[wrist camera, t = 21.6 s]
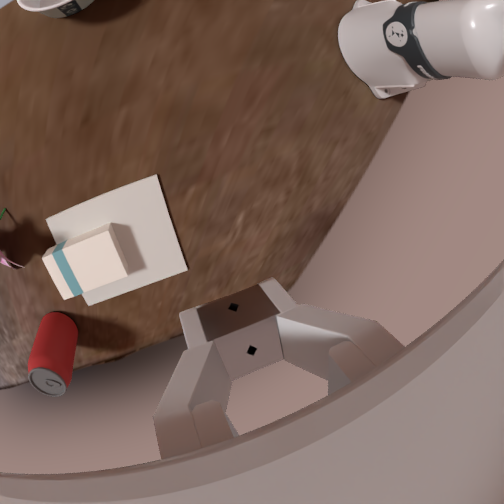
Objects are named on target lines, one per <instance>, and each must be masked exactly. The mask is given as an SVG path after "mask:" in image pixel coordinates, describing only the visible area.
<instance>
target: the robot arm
mask: <svg viewBox="0 0 504 504" xmlns="http://www.w3.org/2000/svg"><path fill="white" fill-rule="evenodd" d="M338 40H339V45H340V49H341V52H342V55H343V57H344V59H345V61H346V63H347V64H348V66H349V67H350V69H351V70H352V71H353V72H354V73H355V74H356V75H357V76H358V77H359V78H360V79H361V80H362V81H364V82H365V83H366V84H367V85H368V86H369V87H370V89H371V90H372V92H373V93H374V95H375V96H376V97H377V98H378V99H383V98H387V97H391V96H394V95H397V94H400V93H404V92H407V91H411V90H414V89H418V88H421V87H424V86H425V85H426V81H430V80H433V79H436V80H442V79H448V78H451V77H465V78H476V79H485V80H495V79H499V78H501V77H503V76H504V0H446V1H438V2H431V3H427V2H422V1H420V2H409V3H407V4H402V3H400V2H397V1H396V0H386V1H381V2H376V3H370V2H368V1H365V0H357V1H356V2H355V4H354V7H353V9H352V10H351V11H350V12H349V13H347V14H346V15H345V16H344V17H343V18H342V20H341V22H340V24H339V29H338ZM196 309H197V310H196ZM179 316H180V320H181V324H182V328H183V331H184V335H185V339H186V342H187V345H188V350H186V351H184V352H183V354H182V356H181V358H180V360H179V362H178V365H177V367H176V369H175V371H174V373H173V375H172V377H171V379H170V381H169V384H168V386H167V388H166V390H165V392H164V394H163V396H162V399H161V401H160V403H159V405H158V407H157V410H156V411H155V414H154V416H153V420H154V426H155V431H156V436H157V441H158V446H159V451H160V455H161V460H157V461H152V462H147V463H143V464H137V465H132V466H126V467H120V468H114V469H107V470H99V471H91V472H80V473H65V474H14V473H2V472H0V504H504V260H503V261H502V262H501V263H500V264H499V265H498V267H496V269H495V270H494V271H493V272H492V273H491V274H490V275H489V276H488V277H487V278H486V279H485V280H484V281H483V282H482V283H481V284H480V285H479V286H478V287H477V288H476V289H475V290H474V291H473V292H471V294H469V295H468V296H467V297H466V298H465V299H464V300H463V301H462V302H461V303H460V304H458V305H457V306H456V307H455V308H454V309H453V310H451V311H450V312H449V313H448V314H447V315H446V316H445V317H443V318H442V319H441V320H440V321H438V322H437V323H436V324H435V325H433V326H432V327H431V328H430V329H428V330H427V331H426V332H425V333H423V334H422V335H421V336H419V337H418V338H417V339H415V340H414V341H413V342H411V343H410V344H409V345H407V346H406V347H405V346H403V345H402V344H401V343H400V342H399V341H398V340H397V339H396V338H395V337H394V336H393V335H392V334H390V333H389V332H388V331H387V330H386V329H385V328H384V327H383V326H382V325H380V324H379V323H378V322H377V321H374V320H370V319H365V318H361V317H356V316H352V315H348V314H344V313H340V312H335V311H331V310H327V309H323V308H319V307H315V306H311V305H307V304H301V305H298V304H297V303H296V302H295V301H294V300H293V299H292V297H291V296H290V295H289V294H288V293H287V292H286V291H285V289H284V288H283V287H282V286H281V285H280V284H279V283H278V282H277V280H276V279H275V278H270V279H267V280H265V281H263V282H260V283H258V284H257V285H254V286H252V287H249V288H247V289H244V290H242V291H239V292H237V293H234V294H231V295H229V296H225V297H222V298H220V299H217V300H214V301H211V302H208V303H205V304H202V305H200V306H197V307H196V308H195V307H194V308H191V309H188V310H186V311H183V312H180V314H179ZM283 359H284V360H285V361H287V362H289V363H291V364H293V365H295V366H298V367H300V368H302V369H304V370H306V371H308V372H310V373H312V374H315V375H317V376H319V377H321V378H323V379H326V380H328V396H326V397H324V398H322V399H320V400H318V401H317V402H314V403H313V404H310V405H308V406H307V407H304V408H302V409H300V410H298V411H297V412H294V413H292V414H290V415H288V416H285V417H283V418H281V419H279V420H277V421H274V422H272V423H270V424H268V425H265V426H263V427H260V428H258V429H255V430H253V431H250V432H248V433H245V434H243V435H240V436H239V434H238V432H237V431H236V429H235V428H234V426H233V424H232V423H231V421H230V419H229V418H228V416H227V415H226V409H227V404H228V399H229V395H230V390H231V385H232V381H233V380H235V379H238V378H240V377H243V376H245V375H247V374H249V373H251V372H254V371H256V370H258V369H261V368H264V367H266V366H268V365H271V364H274V363H276V362H278V361H281V360H283Z"/></svg>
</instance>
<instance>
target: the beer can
mask: <svg viewBox="0 0 504 504" xmlns="http://www.w3.org/2000/svg"><path fill="white" fill-rule="evenodd" d="M77 338H78V329H77V326H76V325H75V323H74V321H73V320H72V319H70V318H69V317H68V316H66V315H65V314H62V313H59V312H51V313H48V314H46V315H45V316H44V317H43V319H42V321H41V323H40V326H39V329H38V332H37V335H36V338H35V341H34V344H33V347H32V351H31V354H30V357H29V361H28V372H29V375H28V378H29V381H30V383H31V385H32V386H33V387H34V388H35V389H36V390H38V391H39V392H41V393H43V394H45V395H48V396H53V397H57V396H62V395H63V394H65V392H66V390H67V387H68V385H69V384H70V382H71V379H72V371H73V363H74V356H75V350H76V344H77Z"/></svg>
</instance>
